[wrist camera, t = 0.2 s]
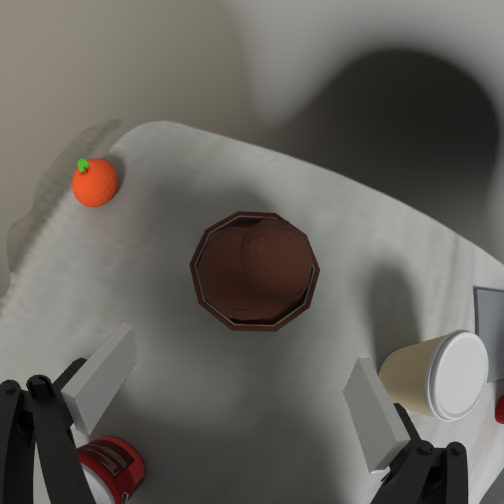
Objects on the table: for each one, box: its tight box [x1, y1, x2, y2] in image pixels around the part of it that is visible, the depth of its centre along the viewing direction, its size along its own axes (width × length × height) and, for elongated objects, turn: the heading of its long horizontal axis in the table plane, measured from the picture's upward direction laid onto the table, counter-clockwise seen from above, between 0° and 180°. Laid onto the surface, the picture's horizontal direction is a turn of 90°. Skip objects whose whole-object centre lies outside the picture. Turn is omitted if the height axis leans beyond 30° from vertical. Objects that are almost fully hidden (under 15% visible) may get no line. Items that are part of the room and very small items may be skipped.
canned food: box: [77, 437, 145, 504], centre depth 17 cm, size 8×8×11 cm
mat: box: [474, 289, 504, 383], centre depth 30 cm, size 16×14×1 cm
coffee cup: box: [379, 330, 488, 422], centre depth 23 cm, size 9×9×12 cm
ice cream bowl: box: [189, 211, 320, 332], centre depth 25 cm, size 11×11×15 cm
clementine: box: [72, 158, 118, 207], centre depth 32 cm, size 8×7×7 cm
